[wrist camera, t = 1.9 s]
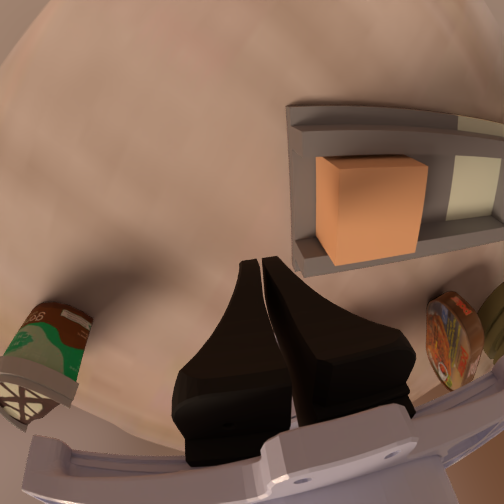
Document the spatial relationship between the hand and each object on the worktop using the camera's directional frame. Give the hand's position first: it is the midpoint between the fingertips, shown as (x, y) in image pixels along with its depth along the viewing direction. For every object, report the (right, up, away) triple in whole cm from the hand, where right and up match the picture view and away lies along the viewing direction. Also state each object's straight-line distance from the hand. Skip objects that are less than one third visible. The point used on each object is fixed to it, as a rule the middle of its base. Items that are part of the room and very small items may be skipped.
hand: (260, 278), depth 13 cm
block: (+7, +5, +8) cm, 11 cm away
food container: (-20, -6, +12) cm, 24 cm away
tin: (+22, -7, +19) cm, 30 cm away
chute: (+13, +7, +9) cm, 17 cm away
